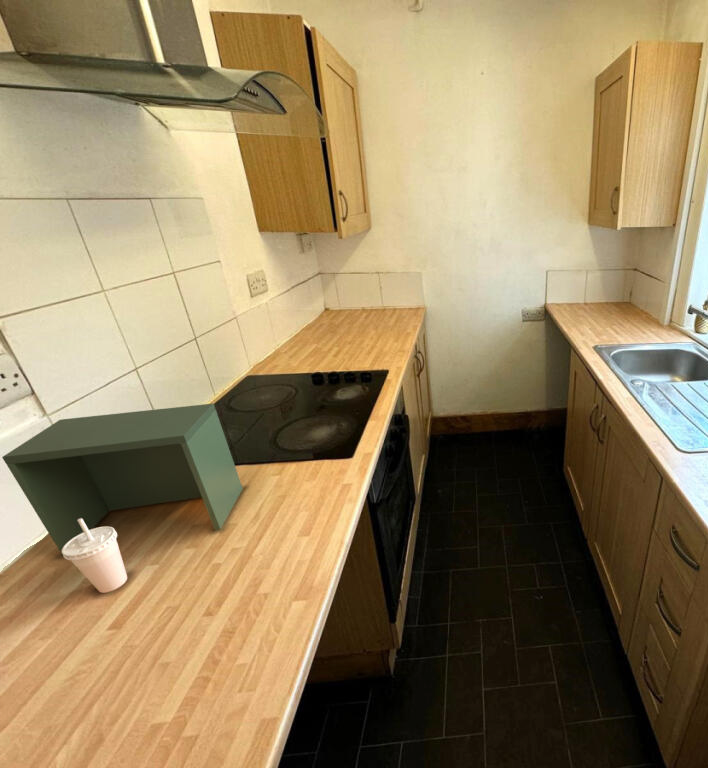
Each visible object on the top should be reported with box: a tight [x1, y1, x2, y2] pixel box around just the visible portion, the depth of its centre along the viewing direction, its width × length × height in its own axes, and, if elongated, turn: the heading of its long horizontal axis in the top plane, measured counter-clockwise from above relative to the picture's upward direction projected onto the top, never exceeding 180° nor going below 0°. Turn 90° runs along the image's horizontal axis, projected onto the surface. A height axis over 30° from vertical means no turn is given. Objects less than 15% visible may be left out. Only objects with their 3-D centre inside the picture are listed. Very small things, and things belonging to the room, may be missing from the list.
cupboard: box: [1, 403, 244, 556], centre depth 80 cm, size 26×13×22 cm, turn 104°
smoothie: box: [61, 518, 128, 594], centre depth 68 cm, size 6×6×14 cm
